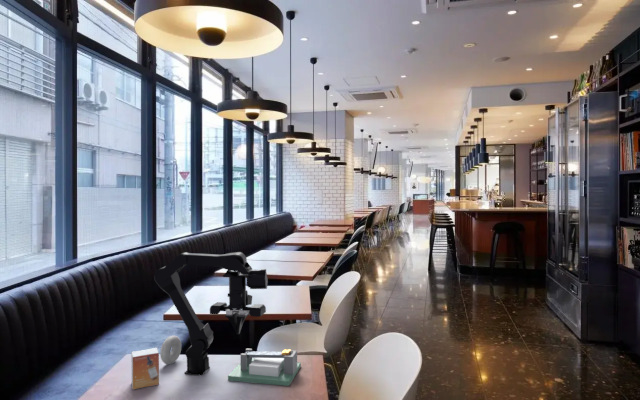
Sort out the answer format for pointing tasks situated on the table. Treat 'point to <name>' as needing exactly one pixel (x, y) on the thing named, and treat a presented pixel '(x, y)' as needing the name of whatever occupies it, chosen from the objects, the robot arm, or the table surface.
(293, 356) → the board
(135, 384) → the small box
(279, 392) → the table surface
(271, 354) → the strap
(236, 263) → the robot arm
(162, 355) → the donut
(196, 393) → the table surface
